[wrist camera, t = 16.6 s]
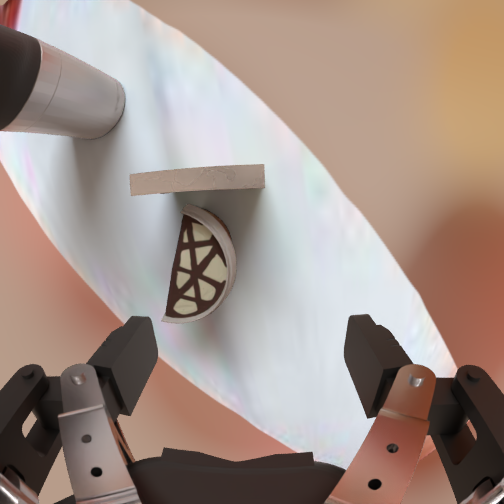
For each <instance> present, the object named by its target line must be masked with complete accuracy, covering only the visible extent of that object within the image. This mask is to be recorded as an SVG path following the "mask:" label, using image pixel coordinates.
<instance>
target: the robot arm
mask: <svg viewBox="0 0 504 504" xmlns="http://www.w3.org/2000/svg"><path fill="white" fill-rule="evenodd" d="M124 104H125V93H124V90H123V87H122V85H121V84H120V83H119V82H118V81H117V80H116V79H114V78H113V77H111V76H109V75H107V74H105V73H104V72H102V71H100V70H98V69H97V68H95V67H93V66H91V65H89V64H87V63H85V62H83V61H82V60H80V59H78V58H76V57H74V56H72V55H70V54H68V53H66V52H64V51H62V50H60V49H58V48H56V47H54V46H51V45H49V44H47V43H45V42H43V41H41V40H38V39H36V38H34V37H32V36H29V35H27V34H24V33H21V32H19V31H16V30H13V29H11V28H8V27H6V26H3V25H0V131H9V132H28V133H40V134H51V135H60V136H69V137H76V138H84V139H96V138H99V137H101V136H103V135H105V134H106V133H108V132H109V131H110V130H111V129H112V128H113V127H114V126H115V125H116V123H117V122H118V120H119V119H120V117H121V115H122V112H123V109H124ZM157 358H158V348H157V344H156V339H155V335H154V330H153V325H152V321H151V319H150V318H149V317H142V316H131V317H130V319H129V320H128V321H127V322H126V323H125V325H124V326H123V327H122V326H121V327H119V328H118V329H116V330H114V331H113V332H111V334H110V335H109V336H108V337H107V338H106V341H104V342H103V343H102V345H101V346H100V347H99V348H98V350H97V351H96V352H95V353H94V354H93V356H92V357H91V358H90V359H89V361H88V362H87V363H86V364H76V365H72V366H70V367H68V368H67V369H65V370H64V371H63V373H62V374H61V376H59V377H57V376H55V377H46V375H45V372H44V370H43V368H42V367H41V366H39V365H36V364H30V365H26V366H24V367H22V368H20V369H19V370H18V371H17V372H16V373H15V374H14V375H13V376H12V378H11V379H10V380H9V381H8V382H7V383H6V385H5V386H4V387H3V388H2V389H1V390H0V504H39V499H38V496H39V493H40V491H41V489H42V487H43V485H44V482H45V480H46V478H47V476H48V474H49V471H50V469H51V467H52V465H53V463H54V461H55V459H56V457H57V455H58V453H59V451H60V449H61V447H62V446H63V452H64V457H65V461H66V465H67V470H68V474H69V478H70V482H71V485H72V489H73V492H74V494H73V495H71V496H69V497H67V498H65V499H63V500H61V501H58V502H56V503H54V504H401V501H402V499H403V497H404V495H405V493H406V490H407V488H408V486H409V483H410V481H411V478H412V476H413V473H414V471H415V468H416V465H417V463H418V460H419V457H420V454H421V451H422V448H423V445H424V442H425V439H426V435H431V437H432V440H433V442H434V444H435V447H436V449H437V451H438V453H439V456H440V458H441V461H442V463H443V466H444V468H445V471H446V473H447V476H448V478H449V481H450V484H451V486H452V489H453V492H454V495H455V498H456V501H457V504H504V394H503V393H502V392H501V390H500V389H499V388H498V387H497V385H496V384H495V383H494V382H493V380H492V379H491V378H490V376H489V375H488V374H487V373H486V372H485V371H484V370H483V369H482V368H480V367H477V366H473V365H465V366H462V367H460V368H459V369H458V370H457V373H456V375H455V377H454V378H436V376H435V374H434V372H433V371H432V370H430V369H429V368H427V367H425V366H422V365H418V364H413V362H412V361H411V360H410V358H409V357H408V355H407V354H406V353H405V351H404V350H403V348H402V347H401V346H399V343H398V341H397V340H395V337H394V336H393V335H392V333H391V332H390V331H389V330H388V329H386V328H385V327H383V326H382V325H376V324H375V322H374V321H373V320H372V318H371V317H370V315H369V314H362V315H351V316H350V317H349V320H348V326H347V333H346V339H345V345H344V359H345V363H346V365H347V368H348V370H349V373H350V375H351V378H352V380H353V383H354V385H355V388H356V390H357V393H358V395H359V398H360V401H361V403H362V406H363V408H364V411H365V414H366V416H367V419H368V418H373V417H376V419H375V421H374V423H373V425H372V427H371V429H370V431H369V433H368V435H367V436H366V438H365V440H364V442H363V444H362V445H361V447H360V449H359V451H358V452H357V454H356V456H355V457H354V459H353V461H352V462H351V464H350V466H349V467H348V469H347V470H345V469H343V468H340V467H338V466H335V465H331V464H328V463H323V462H316V461H314V459H313V452H305V453H292V454H275V455H270V456H266V457H261V458H256V459H251V460H246V461H239V462H234V461H229V460H225V459H221V458H217V457H214V456H211V455H207V454H204V453H200V452H195V451H186V450H177V449H170V448H164V449H163V453H162V456H161V457H153V458H147V459H143V460H139V461H135V459H134V457H133V455H132V453H131V451H130V449H129V446H128V444H127V442H126V440H125V437H124V435H123V432H122V430H121V427H120V425H119V422H118V420H117V417H118V415H119V414H123V415H128V416H131V414H132V412H133V409H134V408H135V406H136V403H137V401H138V399H139V397H140V395H141V393H142V391H143V389H144V387H145V385H146V383H147V380H148V379H149V377H150V374H151V372H152V370H153V368H154V366H155V364H156V362H157ZM31 411H32V412H33V414H34V415H35V416H36V418H37V420H36V422H35V424H34V425H33V427H32V428H31V430H30V432H29V433H28V435H27V437H26V438H25V437H24V435H23V433H22V425H23V423H24V421H25V420H26V418H27V417H28V415H29V414H30V412H31ZM468 420H470V421H471V423H472V425H473V427H474V428H475V430H476V433H477V440H475V438H474V437H473V435H472V433H471V431H470V429H469V427H468V426H467V424H466V423H467V421H468Z"/></svg>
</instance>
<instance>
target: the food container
mask: <svg viewBox="0 0 504 504" xmlns="http://www.w3.org/2000/svg"><path fill="white" fill-rule="evenodd" d="M181 213H183V214H184V216H183V220H182V226H181V231H180V236H179V240H178V245H177V250H176V254H175V259H174V263H173V268H172V274H171V281H170V287H169V294H168V300H167V306H166V313H165V314H164V316H163V318H162V320H161V321H163V322H167V323H176V324H179V323H188V322H193V321H196V320H199V319H201V318H204V317H206V316H207V315H209V314H211V313H212V312H213V311H214V310H216V309H217V308H218V307H219V306H220V305H221V304H222V302H223V301H224V300H225V299H226V298H227V296H228V295H229V293H230V291H231V289H232V287H233V284H234V281H235V276H236V264H237V262H236V255H235V250H234V247H233V244H232V240H231V236H230V233H229V231H228V229H227V227H226V225H225V224H224V223H223V221H222V220H221V219H220V218H219V217H217V216H216V215H215V214H213V213H211V212H210V211H208V210H205V209H202V208H199V207H197V206H194V205H191V204H187V205H186V206H185V207H184V208H183V211H181Z"/></svg>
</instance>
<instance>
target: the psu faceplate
mask: <svg viewBox="0 0 504 504" xmlns="http://www.w3.org/2000/svg"><path fill="white" fill-rule="evenodd" d="M252 188H265V174H264V164H258V165H231V166H213V167H198V168H185V169H174V170H164V171H155V172H146V173H138V174H130V190H131V196H135V195H146V194H157V193H160V194H164V193H171V192H182V191H197V190H215V189H219V190H225V189H252Z"/></svg>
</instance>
